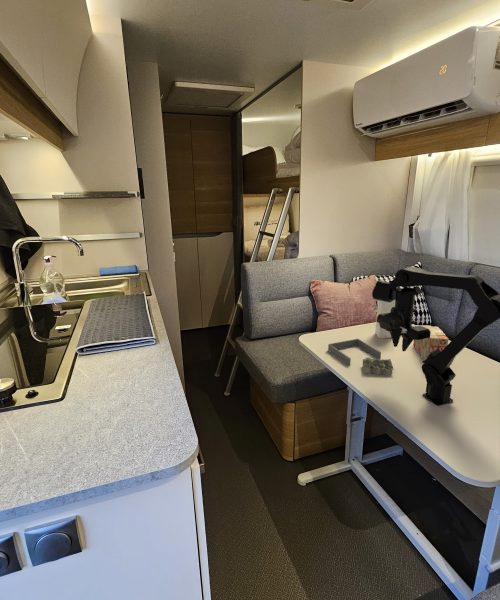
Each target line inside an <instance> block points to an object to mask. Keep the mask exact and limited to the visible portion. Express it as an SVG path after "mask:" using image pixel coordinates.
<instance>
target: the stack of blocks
mask: <svg viewBox="0 0 500 600" xmlns="http://www.w3.org/2000/svg"><path fill="white" fill-rule="evenodd" d="M415 326H423V327H425V328H428V329H429V330H430V331H431V334H430V338H425V339H420V340H413V346H414V348H415V350H416V351H417V353H418V354H419V356H420V358H421V360H422V361H424V360H425V359H426V358H427V357H428V356H429V354H430V353H432V352H433V351H435V350H436V349H437V348H438V349H439V350H440V351H442V350H443V349H444V348H445V347H446V346H447V345H448V344H449V340H450V339H449V337H448V336H446V334H445V332H443V330H442V329H440V327H438V326H431V325H421V324H420V325H419V324H417V325H416V324H415ZM415 326H414V327H415Z"/></svg>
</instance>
